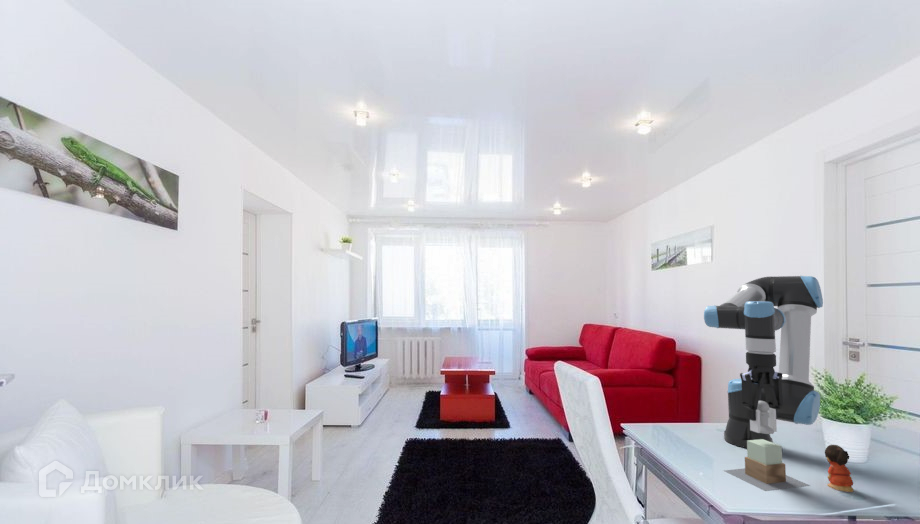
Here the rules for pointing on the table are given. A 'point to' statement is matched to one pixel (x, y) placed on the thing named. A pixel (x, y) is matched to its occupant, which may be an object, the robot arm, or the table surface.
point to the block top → (764, 452)
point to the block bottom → (765, 471)
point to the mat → (766, 487)
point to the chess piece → (764, 418)
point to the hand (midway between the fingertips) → (763, 430)
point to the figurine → (838, 469)
